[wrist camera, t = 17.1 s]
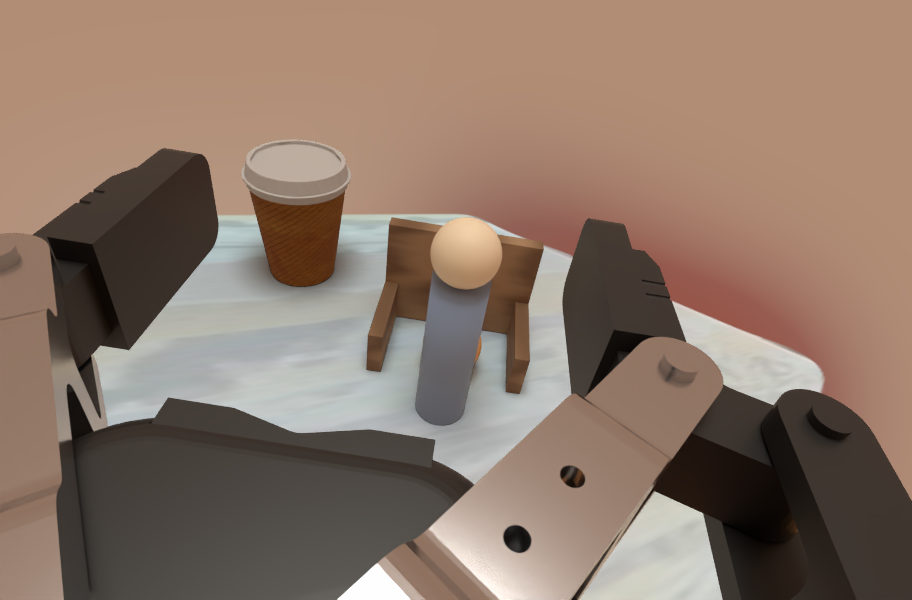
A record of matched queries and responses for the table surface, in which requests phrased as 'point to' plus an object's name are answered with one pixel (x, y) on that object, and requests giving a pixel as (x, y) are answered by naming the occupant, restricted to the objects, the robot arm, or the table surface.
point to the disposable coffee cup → (298, 206)
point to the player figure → (455, 315)
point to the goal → (413, 283)
